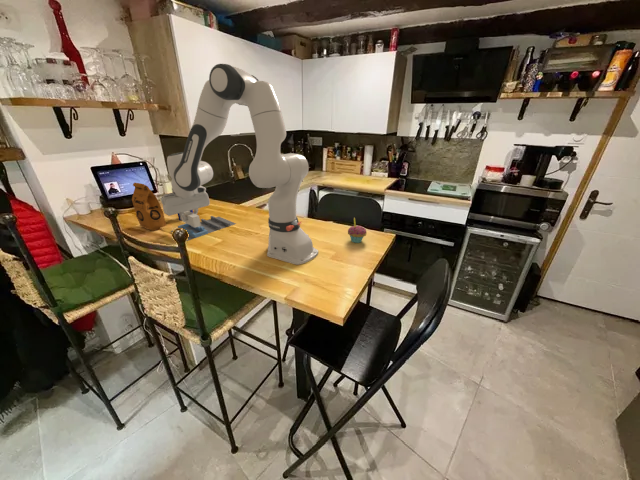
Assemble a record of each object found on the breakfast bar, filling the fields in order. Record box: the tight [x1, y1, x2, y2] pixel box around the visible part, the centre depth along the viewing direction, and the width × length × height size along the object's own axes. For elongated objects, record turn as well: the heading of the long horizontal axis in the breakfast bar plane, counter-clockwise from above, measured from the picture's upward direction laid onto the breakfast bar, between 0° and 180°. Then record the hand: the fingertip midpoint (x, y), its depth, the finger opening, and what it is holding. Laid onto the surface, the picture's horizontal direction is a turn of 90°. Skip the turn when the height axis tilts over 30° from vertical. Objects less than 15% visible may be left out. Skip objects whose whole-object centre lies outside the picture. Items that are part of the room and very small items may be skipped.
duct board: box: [170, 215, 237, 242], centre depth 129 cm, size 16×26×3 cm, turn 142°
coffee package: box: [131, 182, 167, 232], centre depth 127 cm, size 10×12×22 cm
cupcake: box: [347, 217, 367, 244], centre depth 118 cm, size 9×8×12 cm
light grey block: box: [181, 211, 201, 228], centre depth 123 cm, size 12×3×5 cm, turn 52°
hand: (190, 219), depth 123 cm, fingers closed on light grey block, 3 cm apart
